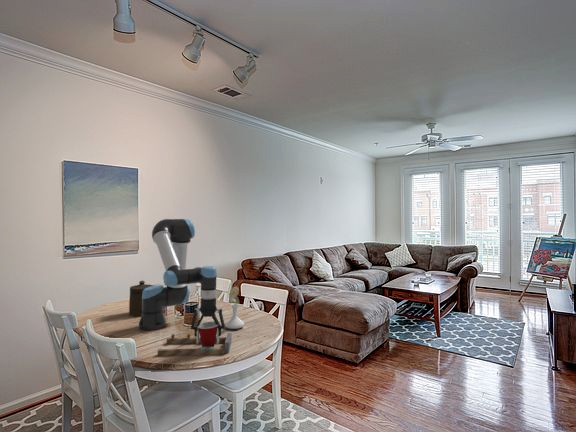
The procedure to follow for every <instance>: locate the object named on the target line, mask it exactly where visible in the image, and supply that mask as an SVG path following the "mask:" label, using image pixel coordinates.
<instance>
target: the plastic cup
mask: <svg viewBox="0 0 576 432" xmlns="http://www.w3.org/2000/svg"><path fill="white" fill-rule="evenodd" d="M217 326H218V324H217V325H216V324H215V322H214V321H206V322H205V321H204V322H201V323H200V325H199V327H198V326H197V327H198V330H199V337H200V339H201V343H200V344H201V347H214V348H215V346H216V343H215V340H216V336H217V329H218V328H217Z"/></svg>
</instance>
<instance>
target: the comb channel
mask: <svg viewBox="0 0 576 432" xmlns="http://www.w3.org/2000/svg"><path fill="white" fill-rule="evenodd" d="M175 335H176V334H175V333H172V334H171V335H170V336H171V337H167V338H166V344H167V345H170V344H171V345H176V344H197V337H191V333H187V334H186V335H187V336H186V337H176V336H175ZM226 337H227V336H219V343H218V344H225V340H226ZM198 344H201V339H200V336H199V343H198ZM215 344H217V335H216V340H215ZM225 354H226V353H225V347H215V346H214V347H202V346H201V347H200V348H165V349H164V348H163V349H161V348H159V349H157V356H158V357H159V356H160V357H161V356H162V357H164V356H165V357H166V356H170V357H171V356H172V357H173V356H204V355H206V356H209V355H211V356H213V355H225Z"/></svg>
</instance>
